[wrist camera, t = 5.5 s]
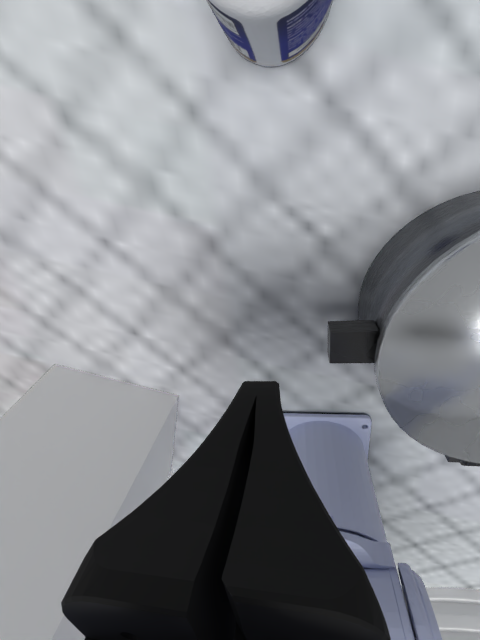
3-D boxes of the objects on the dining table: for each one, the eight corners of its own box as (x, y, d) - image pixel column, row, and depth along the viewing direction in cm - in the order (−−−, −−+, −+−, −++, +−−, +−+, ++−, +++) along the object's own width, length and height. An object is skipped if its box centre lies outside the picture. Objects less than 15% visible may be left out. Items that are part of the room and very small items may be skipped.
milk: (178, 395, 27) (-411, 1631, 4) (171, 469, 33) (-99, 1165, 10) (55, 364, 27) (-1041, 1315, 5) (68, 442, 33) (-404, 1045, 11)
